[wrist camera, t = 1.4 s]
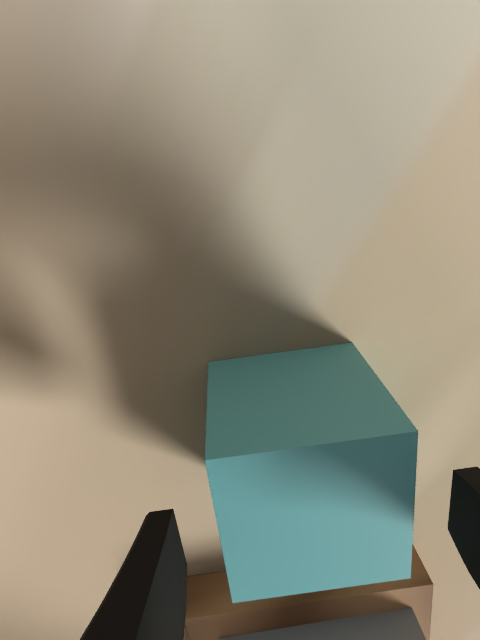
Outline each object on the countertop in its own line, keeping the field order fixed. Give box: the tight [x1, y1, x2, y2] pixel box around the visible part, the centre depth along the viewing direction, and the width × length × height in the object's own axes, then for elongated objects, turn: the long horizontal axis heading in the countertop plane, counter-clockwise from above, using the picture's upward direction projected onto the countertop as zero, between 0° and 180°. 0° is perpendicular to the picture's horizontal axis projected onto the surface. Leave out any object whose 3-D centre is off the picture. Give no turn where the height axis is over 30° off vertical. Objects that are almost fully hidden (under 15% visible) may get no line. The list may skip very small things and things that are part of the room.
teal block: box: [205, 343, 418, 603], centre depth 13 cm, size 5×5×5 cm
